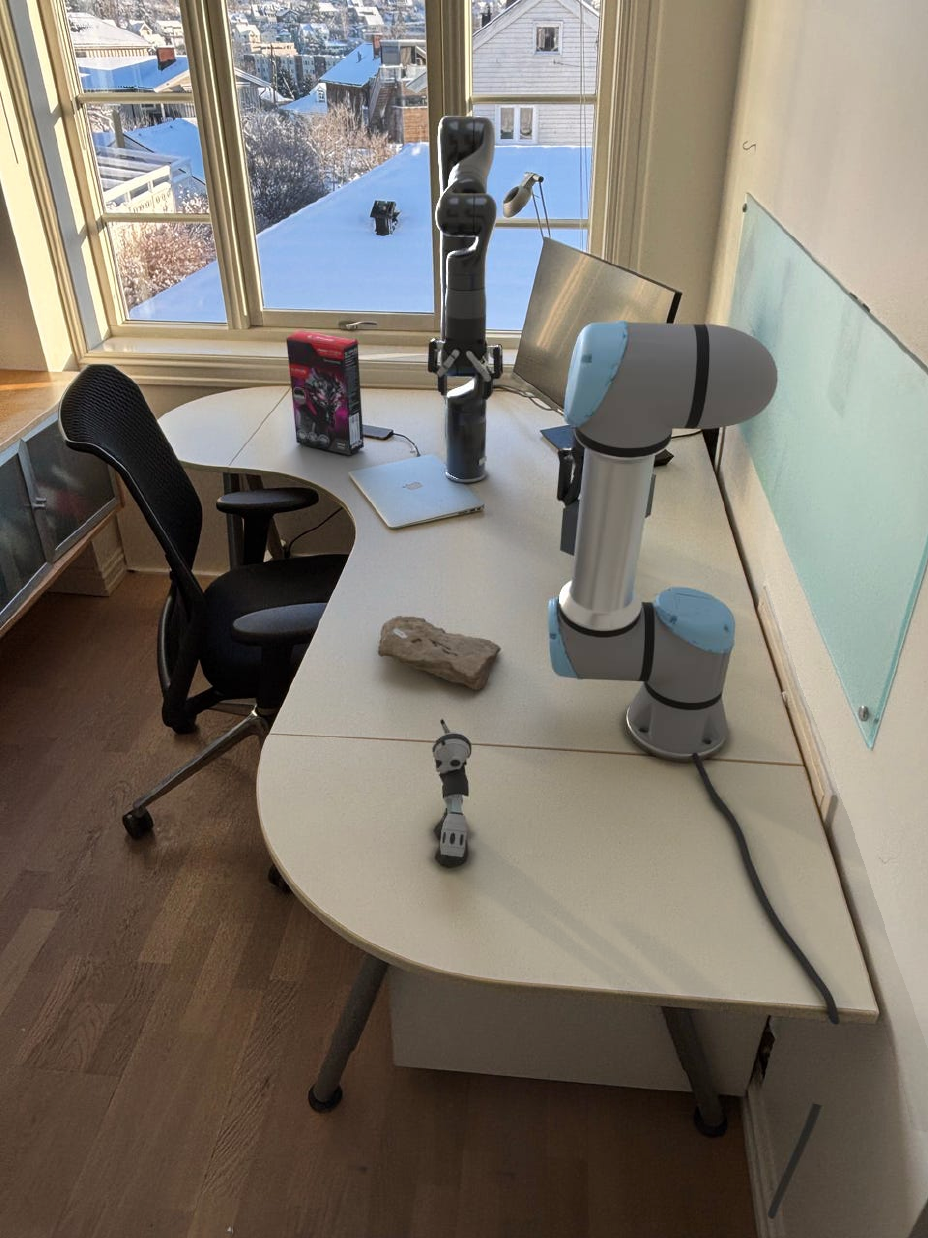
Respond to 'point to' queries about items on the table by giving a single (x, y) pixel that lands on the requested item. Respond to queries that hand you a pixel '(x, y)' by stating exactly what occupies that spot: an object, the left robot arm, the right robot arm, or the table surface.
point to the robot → (452, 796)
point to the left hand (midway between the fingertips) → (465, 396)
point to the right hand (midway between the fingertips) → (584, 542)
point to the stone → (438, 651)
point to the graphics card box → (326, 391)
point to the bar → (572, 519)
